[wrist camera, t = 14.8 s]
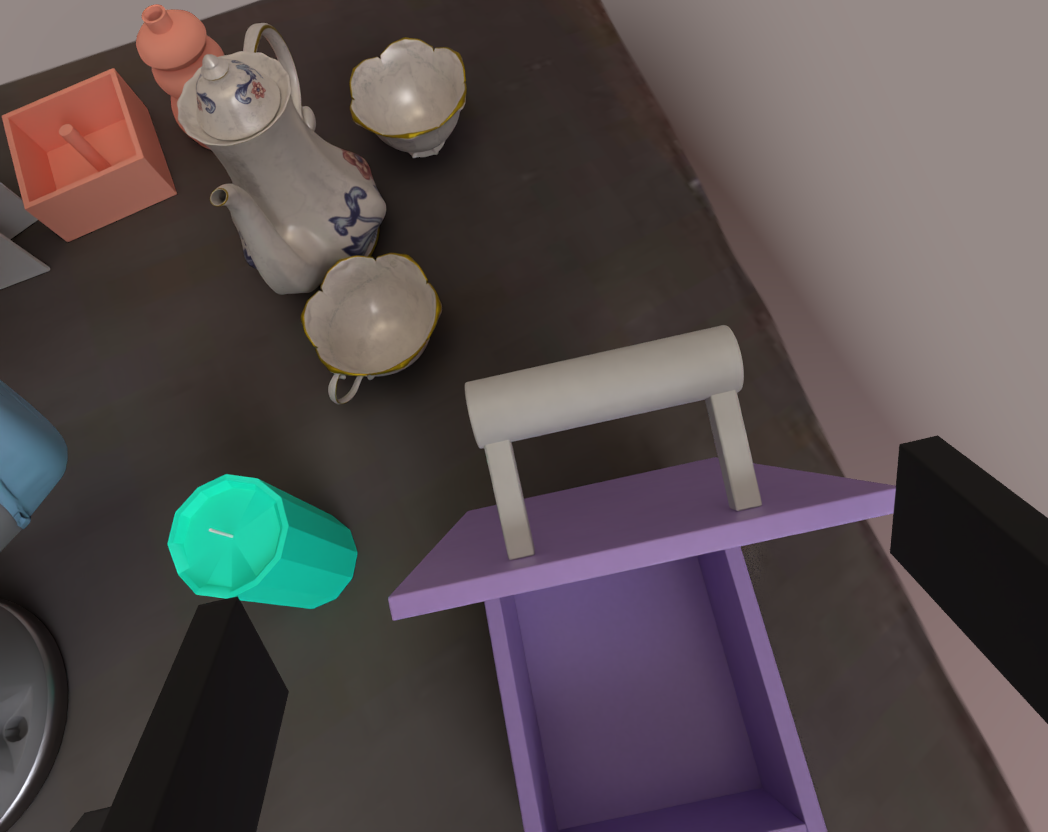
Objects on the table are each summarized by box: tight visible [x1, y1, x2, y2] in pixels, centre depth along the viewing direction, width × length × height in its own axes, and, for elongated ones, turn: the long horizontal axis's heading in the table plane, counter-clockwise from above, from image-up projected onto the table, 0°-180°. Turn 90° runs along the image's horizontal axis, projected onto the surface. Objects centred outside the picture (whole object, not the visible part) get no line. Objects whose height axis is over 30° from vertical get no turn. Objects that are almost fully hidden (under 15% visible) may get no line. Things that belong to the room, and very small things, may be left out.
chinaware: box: [177, 23, 467, 404], centre depth 43 cm, size 28×17×17 cm, turn 1°
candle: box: [167, 474, 358, 609], centre depth 37 cm, size 6×6×12 cm
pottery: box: [2, 4, 224, 242], centre depth 50 cm, size 18×10×10 cm, turn 115°
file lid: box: [388, 325, 896, 620], centre depth 25 cm, size 17×13×5 cm
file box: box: [484, 546, 827, 832], centre depth 35 cm, size 17×13×8 cm
